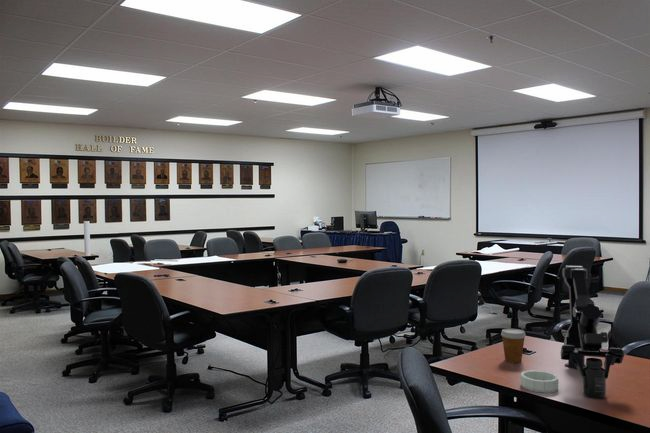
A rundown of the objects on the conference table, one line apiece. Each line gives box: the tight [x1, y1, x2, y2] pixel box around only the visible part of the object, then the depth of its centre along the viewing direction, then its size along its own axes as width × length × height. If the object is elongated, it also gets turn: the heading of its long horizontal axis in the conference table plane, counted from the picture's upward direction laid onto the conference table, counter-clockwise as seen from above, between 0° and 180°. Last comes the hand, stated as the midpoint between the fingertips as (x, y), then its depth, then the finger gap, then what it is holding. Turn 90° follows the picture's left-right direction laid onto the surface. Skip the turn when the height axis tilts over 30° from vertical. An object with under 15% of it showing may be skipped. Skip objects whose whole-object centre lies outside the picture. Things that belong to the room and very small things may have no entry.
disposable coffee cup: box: [500, 328, 526, 363], centre depth 216 cm, size 10×10×12 cm
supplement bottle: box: [582, 357, 607, 400], centre depth 175 cm, size 7×7×12 cm
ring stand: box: [520, 369, 559, 394], centre depth 184 cm, size 12×12×4 cm
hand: (595, 377), depth 174 cm, fingers closed on supplement bottle, 7 cm apart
